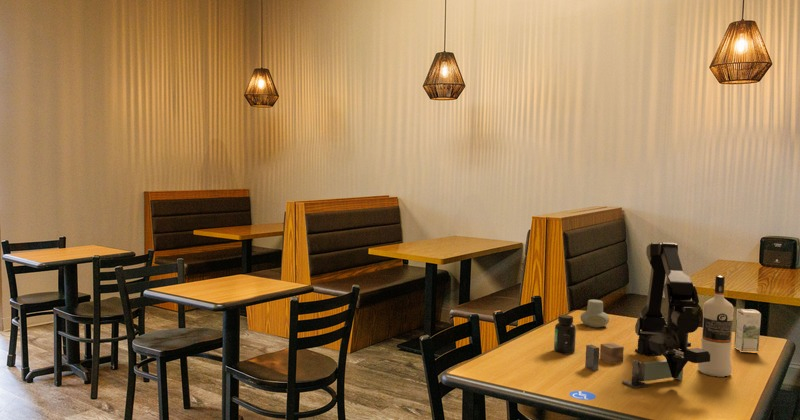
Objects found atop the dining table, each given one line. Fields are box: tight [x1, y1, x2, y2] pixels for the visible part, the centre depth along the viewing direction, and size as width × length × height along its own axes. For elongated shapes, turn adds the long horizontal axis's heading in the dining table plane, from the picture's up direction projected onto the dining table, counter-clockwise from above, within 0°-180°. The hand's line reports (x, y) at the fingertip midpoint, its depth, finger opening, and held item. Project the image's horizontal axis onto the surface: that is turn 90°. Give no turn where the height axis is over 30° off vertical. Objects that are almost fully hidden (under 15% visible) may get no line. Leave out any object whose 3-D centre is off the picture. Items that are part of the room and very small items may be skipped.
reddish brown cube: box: [599, 342, 624, 364], centre depth 202 cm, size 5×5×5 cm
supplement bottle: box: [553, 314, 577, 355], centre depth 211 cm, size 7×7×12 cm
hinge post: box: [621, 359, 649, 390], centre depth 179 cm, size 5×5×7 cm
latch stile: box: [584, 344, 600, 372], centre depth 193 cm, size 2×4×7 cm
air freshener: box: [579, 299, 610, 329], centre depth 248 cm, size 11×8×10 cm
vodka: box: [697, 275, 735, 378], centre depth 191 cm, size 9×9×30 cm
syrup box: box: [733, 308, 762, 352], centre depth 217 cm, size 6×6×14 cm
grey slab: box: [639, 359, 684, 383], centre depth 183 cm, size 15×2×6 cm, turn 112°
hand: (674, 378), depth 179 cm, fingers closed
